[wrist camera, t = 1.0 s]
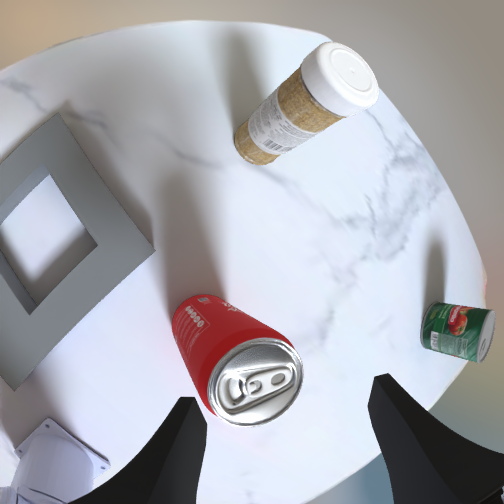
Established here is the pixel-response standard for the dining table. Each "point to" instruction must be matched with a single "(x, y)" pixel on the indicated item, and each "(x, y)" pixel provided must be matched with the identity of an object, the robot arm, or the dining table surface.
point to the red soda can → (236, 361)
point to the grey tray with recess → (85, 273)
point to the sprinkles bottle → (308, 103)
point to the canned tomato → (458, 330)
